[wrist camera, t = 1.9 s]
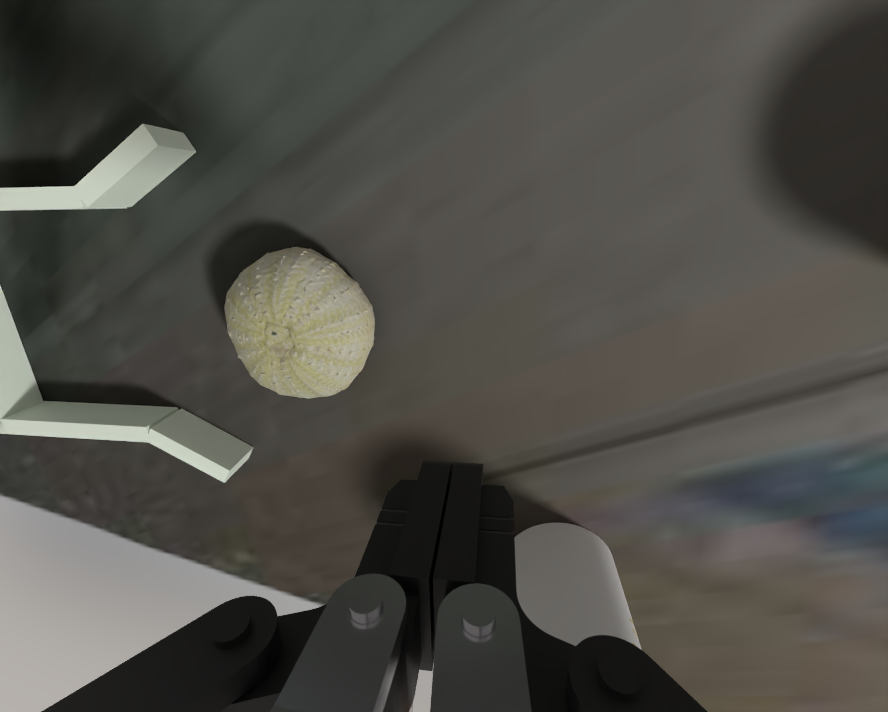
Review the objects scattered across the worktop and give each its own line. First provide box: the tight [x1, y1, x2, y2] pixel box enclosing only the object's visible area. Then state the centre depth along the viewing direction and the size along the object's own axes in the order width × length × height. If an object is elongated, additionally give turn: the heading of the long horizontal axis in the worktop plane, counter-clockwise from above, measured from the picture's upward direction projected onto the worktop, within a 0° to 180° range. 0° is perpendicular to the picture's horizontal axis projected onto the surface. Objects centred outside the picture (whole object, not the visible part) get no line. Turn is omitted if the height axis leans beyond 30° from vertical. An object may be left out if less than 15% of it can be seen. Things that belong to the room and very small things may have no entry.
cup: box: [514, 523, 642, 650], centre depth 26 cm, size 8×8×12 cm
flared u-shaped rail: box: [0, 124, 254, 483], centre depth 28 cm, size 22×18×3 cm
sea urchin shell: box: [224, 246, 375, 399], centre depth 26 cm, size 9×8×8 cm
